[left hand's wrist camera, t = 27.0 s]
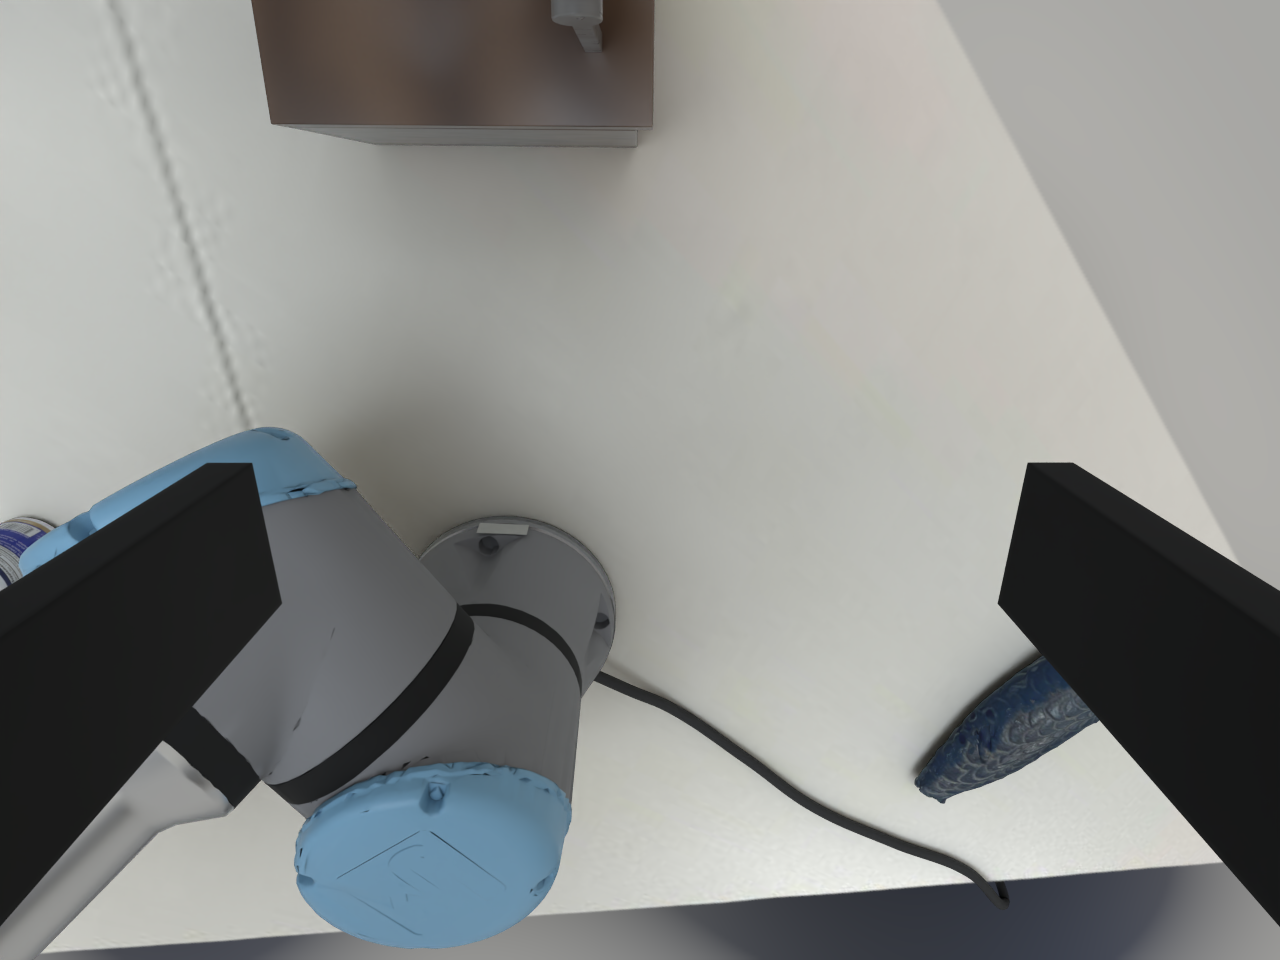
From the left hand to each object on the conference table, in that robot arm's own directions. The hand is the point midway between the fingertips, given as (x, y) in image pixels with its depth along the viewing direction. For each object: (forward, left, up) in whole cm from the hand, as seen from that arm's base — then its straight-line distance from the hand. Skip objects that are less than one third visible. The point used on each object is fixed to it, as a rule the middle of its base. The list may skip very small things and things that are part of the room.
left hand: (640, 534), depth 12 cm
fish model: (-42, +6, -34) cm, 55 cm away
